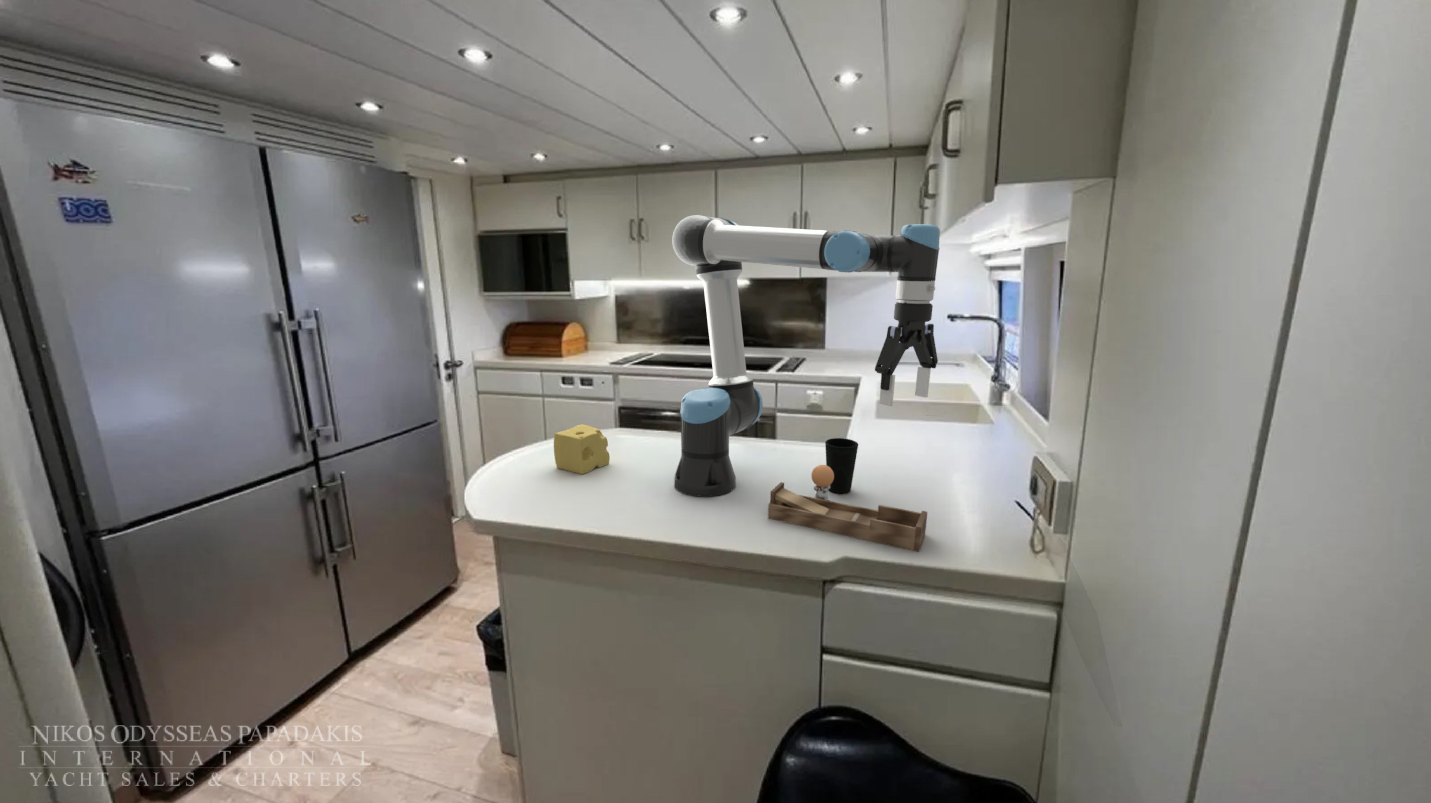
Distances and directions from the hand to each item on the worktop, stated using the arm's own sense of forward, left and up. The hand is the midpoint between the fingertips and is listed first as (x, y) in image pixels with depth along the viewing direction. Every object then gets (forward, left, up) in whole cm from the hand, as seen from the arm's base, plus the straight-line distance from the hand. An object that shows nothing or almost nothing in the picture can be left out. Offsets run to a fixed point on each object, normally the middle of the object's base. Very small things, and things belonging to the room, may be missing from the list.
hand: (904, 400), depth 123 cm
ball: (-15, -9, -17) cm, 24 cm away
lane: (-7, -17, -24) cm, 30 cm away
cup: (-14, +2, -25) cm, 28 cm away
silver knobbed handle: (-15, -9, -24) cm, 30 cm away
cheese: (-80, -14, -25) cm, 85 cm away
